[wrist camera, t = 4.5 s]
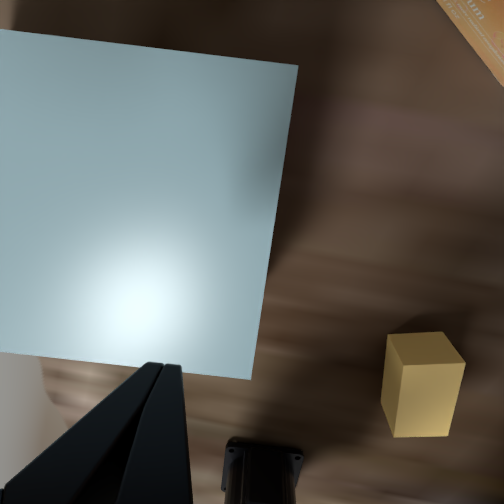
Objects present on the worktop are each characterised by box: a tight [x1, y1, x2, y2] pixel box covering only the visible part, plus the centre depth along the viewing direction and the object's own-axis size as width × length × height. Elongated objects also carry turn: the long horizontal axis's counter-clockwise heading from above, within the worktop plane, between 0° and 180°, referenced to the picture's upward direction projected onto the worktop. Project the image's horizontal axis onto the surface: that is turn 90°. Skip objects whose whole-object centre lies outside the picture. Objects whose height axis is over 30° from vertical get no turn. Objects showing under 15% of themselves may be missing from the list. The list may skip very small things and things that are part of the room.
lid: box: [0, 29, 298, 380], centre depth 12 cm, size 12×13×1 cm
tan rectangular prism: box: [381, 332, 466, 437], centre depth 22 cm, size 6×4×3 cm, turn 6°
